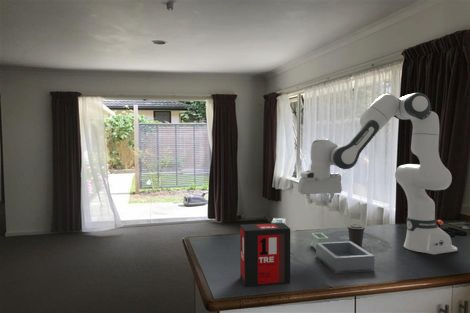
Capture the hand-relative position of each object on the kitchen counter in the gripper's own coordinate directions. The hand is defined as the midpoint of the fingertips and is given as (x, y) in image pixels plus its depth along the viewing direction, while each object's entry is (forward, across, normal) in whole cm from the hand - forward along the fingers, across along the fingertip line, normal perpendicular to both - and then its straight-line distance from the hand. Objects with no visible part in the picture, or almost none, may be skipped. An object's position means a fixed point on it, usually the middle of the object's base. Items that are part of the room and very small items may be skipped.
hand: (319, 203), depth 168 cm
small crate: (+21, 0, 0) cm, 21 cm away
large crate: (+21, -2, +21) cm, 30 cm away
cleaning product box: (+22, +34, +33) cm, 52 cm away
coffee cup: (+22, -18, 0) cm, 28 cm away
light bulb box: (+22, +16, -14) cm, 30 cm away
